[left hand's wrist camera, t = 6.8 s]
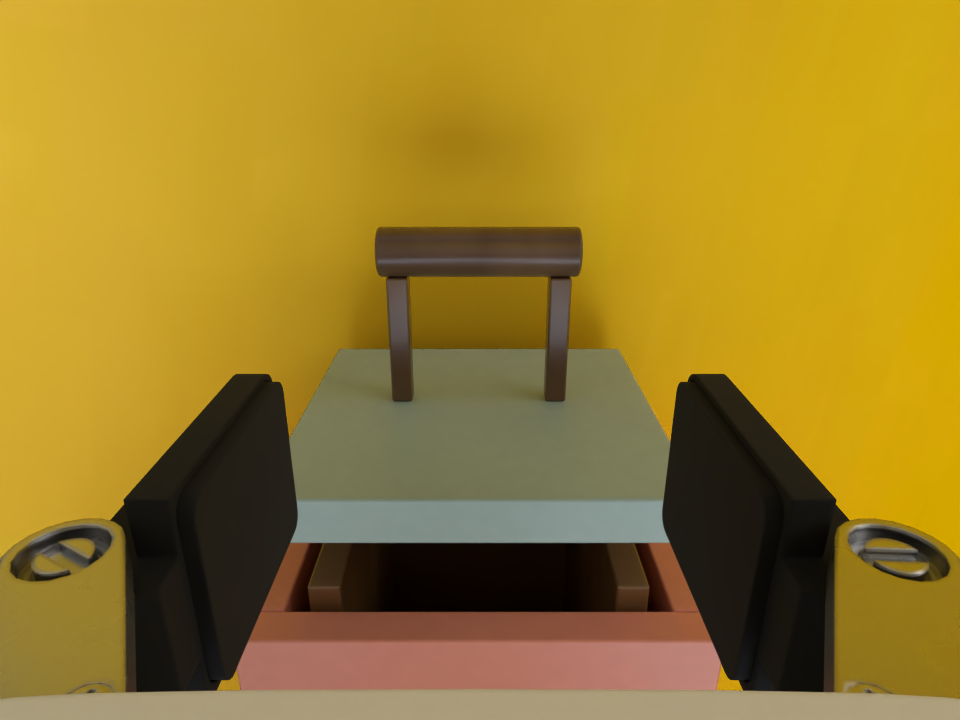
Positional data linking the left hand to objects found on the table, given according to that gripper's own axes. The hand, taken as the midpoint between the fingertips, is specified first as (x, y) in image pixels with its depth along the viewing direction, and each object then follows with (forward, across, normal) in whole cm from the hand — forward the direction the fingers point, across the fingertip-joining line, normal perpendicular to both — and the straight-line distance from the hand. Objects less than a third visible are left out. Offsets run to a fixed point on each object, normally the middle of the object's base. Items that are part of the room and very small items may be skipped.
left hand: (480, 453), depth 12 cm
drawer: (+12, 0, -10) cm, 15 cm away
